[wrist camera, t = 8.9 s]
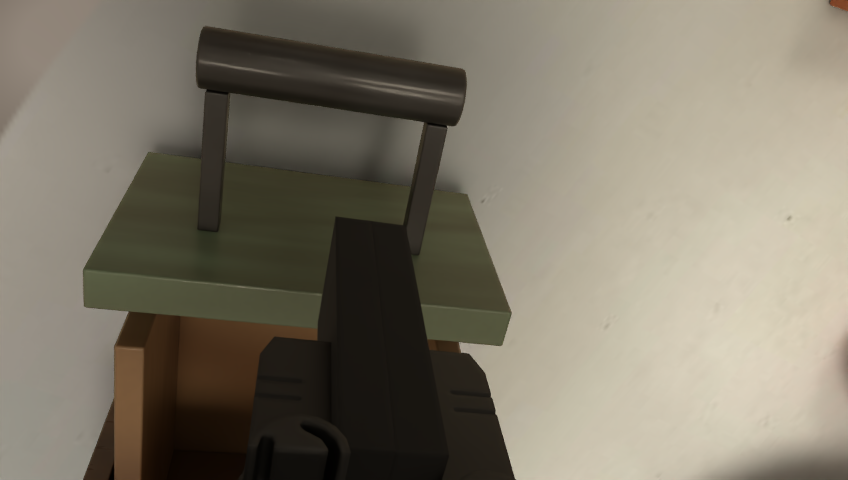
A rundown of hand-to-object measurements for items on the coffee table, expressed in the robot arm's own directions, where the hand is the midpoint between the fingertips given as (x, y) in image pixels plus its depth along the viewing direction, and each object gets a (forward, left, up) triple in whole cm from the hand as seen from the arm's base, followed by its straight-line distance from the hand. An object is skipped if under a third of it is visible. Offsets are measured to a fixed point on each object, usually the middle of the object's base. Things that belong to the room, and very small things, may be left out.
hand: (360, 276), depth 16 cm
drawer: (+6, -1, -11) cm, 13 cm away
